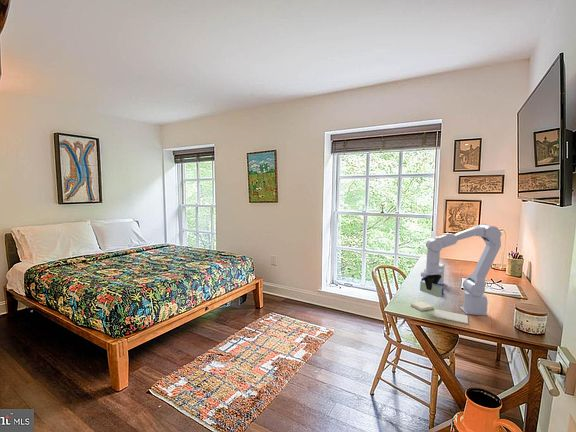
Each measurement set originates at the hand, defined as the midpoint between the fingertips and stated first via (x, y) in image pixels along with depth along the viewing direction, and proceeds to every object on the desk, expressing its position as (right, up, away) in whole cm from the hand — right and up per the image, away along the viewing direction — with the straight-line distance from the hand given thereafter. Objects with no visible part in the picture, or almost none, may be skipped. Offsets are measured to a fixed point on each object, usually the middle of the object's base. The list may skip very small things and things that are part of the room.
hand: (431, 288), depth 148 cm
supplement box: (+23, -7, +40) cm, 47 cm away
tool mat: (+5, -11, -8) cm, 15 cm away
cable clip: (+14, -8, +28) cm, 32 cm away
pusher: (0, -2, +1) cm, 2 cm away
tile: (0, -9, +4) cm, 10 cm away
